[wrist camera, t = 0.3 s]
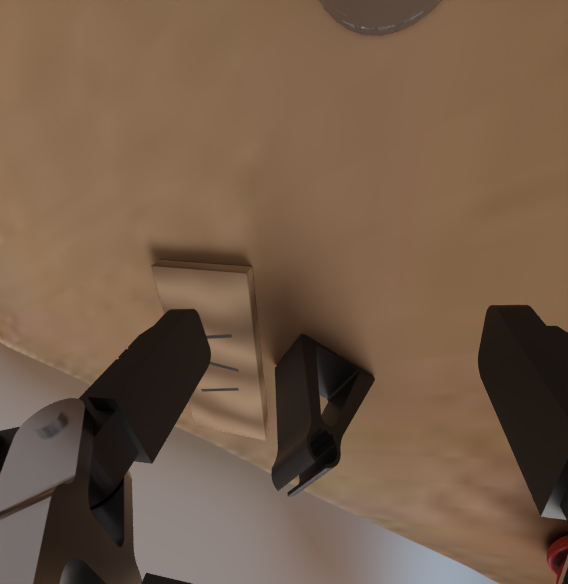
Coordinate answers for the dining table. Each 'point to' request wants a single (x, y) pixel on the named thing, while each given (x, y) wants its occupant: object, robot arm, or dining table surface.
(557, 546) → the plant pot
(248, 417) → the oak board
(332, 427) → the phone stand
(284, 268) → the dining table surface
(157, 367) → the robot arm
